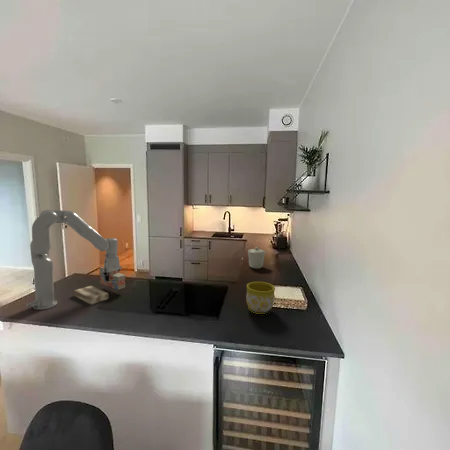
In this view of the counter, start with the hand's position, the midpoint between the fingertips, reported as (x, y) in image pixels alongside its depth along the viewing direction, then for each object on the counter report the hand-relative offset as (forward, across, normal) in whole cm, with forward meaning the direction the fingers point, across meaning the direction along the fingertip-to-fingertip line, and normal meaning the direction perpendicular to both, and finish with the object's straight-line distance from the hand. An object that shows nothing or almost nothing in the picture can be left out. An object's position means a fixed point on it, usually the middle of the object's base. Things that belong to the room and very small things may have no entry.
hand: (111, 279), depth 188 cm
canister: (+5, +125, -54) cm, 136 cm away
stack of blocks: (+5, 0, -1) cm, 5 cm away
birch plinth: (+9, -15, 0) cm, 18 cm away
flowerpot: (+7, +40, -101) cm, 109 cm away
